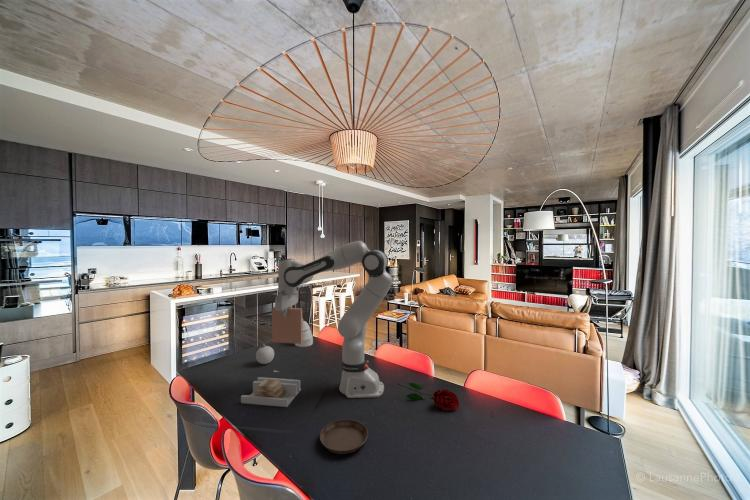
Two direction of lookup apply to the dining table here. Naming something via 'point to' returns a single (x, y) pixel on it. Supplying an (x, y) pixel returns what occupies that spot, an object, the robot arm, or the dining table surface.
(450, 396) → the flower
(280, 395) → the offcut bottom
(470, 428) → the dining table surface
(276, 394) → the offcut middle
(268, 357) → the ornament
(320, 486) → the dining table surface
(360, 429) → the plant saucer
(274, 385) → the offcut top
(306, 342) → the honey pot
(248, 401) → the rack
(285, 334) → the brown square panel
